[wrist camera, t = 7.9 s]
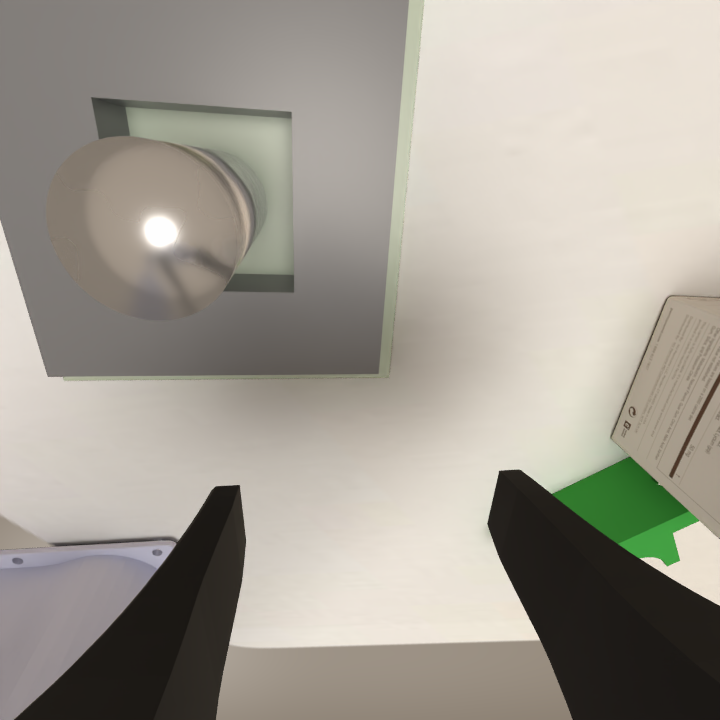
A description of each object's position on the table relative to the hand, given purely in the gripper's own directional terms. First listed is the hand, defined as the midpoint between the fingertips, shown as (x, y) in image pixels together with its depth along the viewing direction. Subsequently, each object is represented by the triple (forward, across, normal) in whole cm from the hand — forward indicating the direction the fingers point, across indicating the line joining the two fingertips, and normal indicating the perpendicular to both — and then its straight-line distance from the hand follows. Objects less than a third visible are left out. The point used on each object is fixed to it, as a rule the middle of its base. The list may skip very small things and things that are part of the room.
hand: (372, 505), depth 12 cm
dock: (+9, +5, -7) cm, 13 cm away
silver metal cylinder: (+8, +5, -7) cm, 12 cm away
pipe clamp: (+10, -15, +10) cm, 21 cm away
